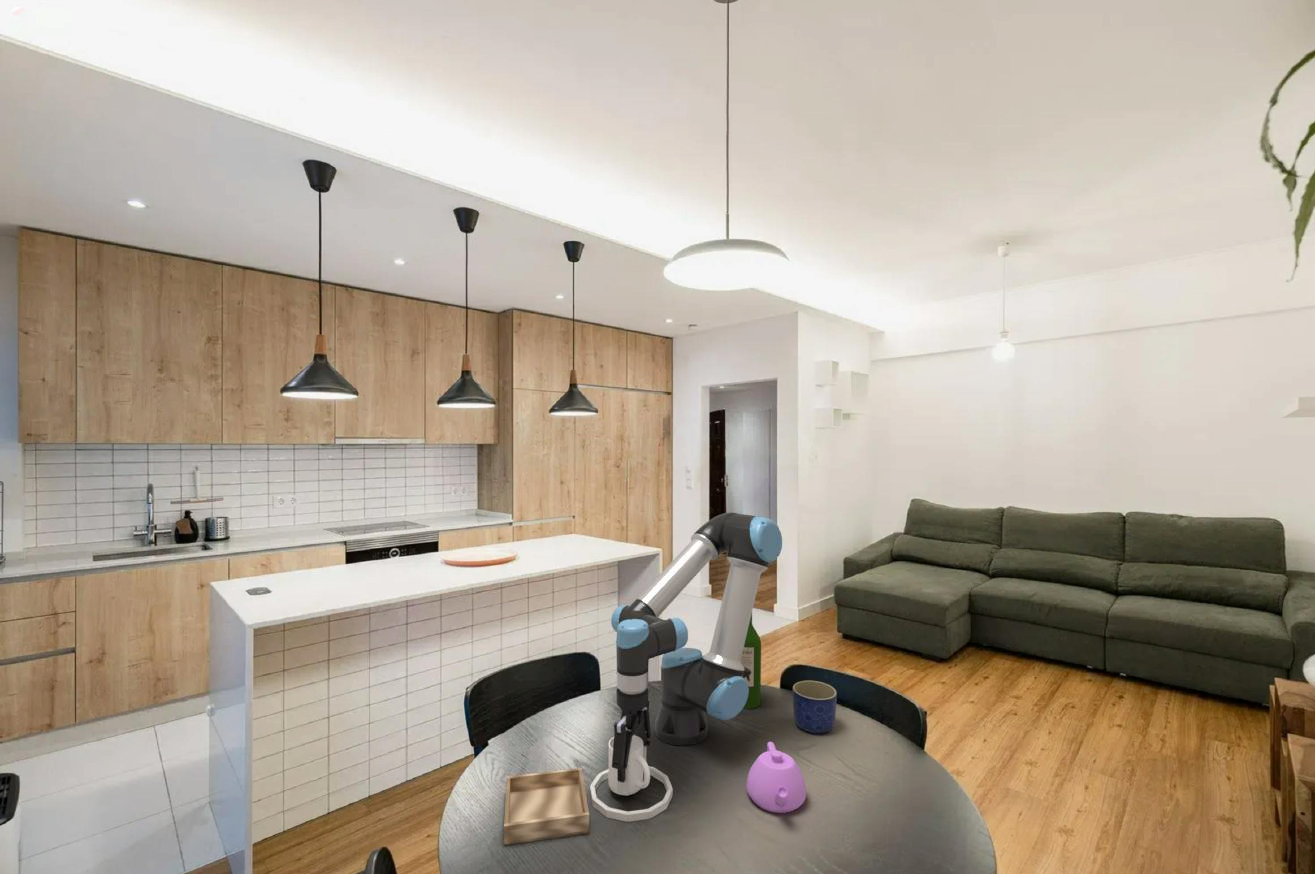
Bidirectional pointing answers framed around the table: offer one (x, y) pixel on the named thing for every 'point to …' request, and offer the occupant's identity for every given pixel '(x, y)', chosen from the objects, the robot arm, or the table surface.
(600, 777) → the socket ring
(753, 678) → the wine bottle
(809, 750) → the table surface
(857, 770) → the table surface
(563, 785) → the oak bin
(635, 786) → the mug
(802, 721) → the planter
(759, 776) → the teapot
